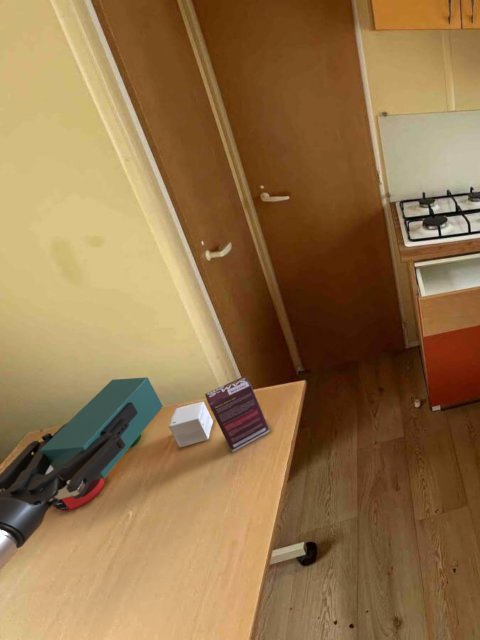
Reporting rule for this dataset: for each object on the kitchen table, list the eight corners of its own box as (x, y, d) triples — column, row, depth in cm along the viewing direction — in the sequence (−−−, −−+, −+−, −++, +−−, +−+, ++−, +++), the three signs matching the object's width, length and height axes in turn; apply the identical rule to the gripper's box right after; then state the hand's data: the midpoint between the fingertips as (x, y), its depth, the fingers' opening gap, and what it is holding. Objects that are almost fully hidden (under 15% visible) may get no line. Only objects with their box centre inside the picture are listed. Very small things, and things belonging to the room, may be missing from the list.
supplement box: (264, 421, 108) (246, 374, 100) (270, 432, 104) (252, 385, 97) (225, 441, 102) (203, 393, 95) (231, 453, 99) (208, 405, 92)
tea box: (63, 481, 72) (39, 450, 68) (129, 408, 86) (112, 379, 82) (104, 478, 72) (82, 447, 69) (163, 406, 86) (147, 377, 83)
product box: (208, 440, 102) (198, 418, 99) (179, 448, 100) (167, 427, 97) (213, 421, 107) (204, 400, 104) (185, 429, 105) (174, 408, 102)
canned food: (54, 496, 90) (26, 462, 85) (103, 471, 95) (80, 438, 90) (57, 521, 85) (28, 487, 80) (108, 493, 90) (84, 459, 85)
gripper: (-74, 562, 59) (64, 427, 79) (77, 548, 60) (175, 419, 81) (-111, 531, 55) (44, 398, 75) (51, 517, 57) (160, 390, 77)
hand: (111, 409), depth 78 cm, fingers closed on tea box, 6 cm apart
